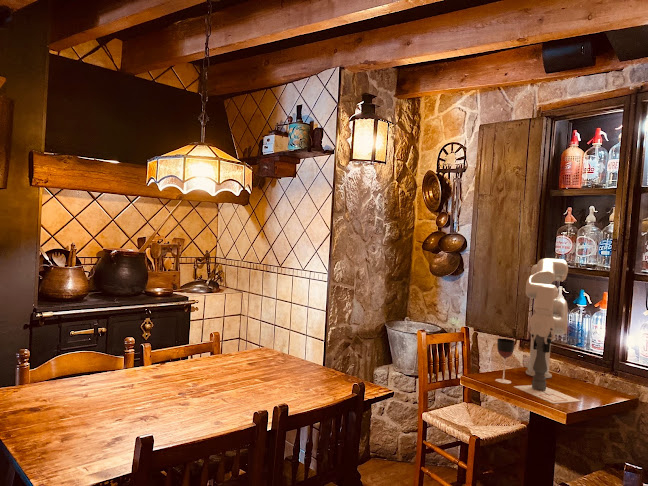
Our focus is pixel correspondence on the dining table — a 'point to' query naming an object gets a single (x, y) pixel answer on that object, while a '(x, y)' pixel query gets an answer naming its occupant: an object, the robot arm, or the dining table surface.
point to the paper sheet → (548, 394)
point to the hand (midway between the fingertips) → (541, 350)
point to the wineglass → (505, 353)
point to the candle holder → (539, 365)
